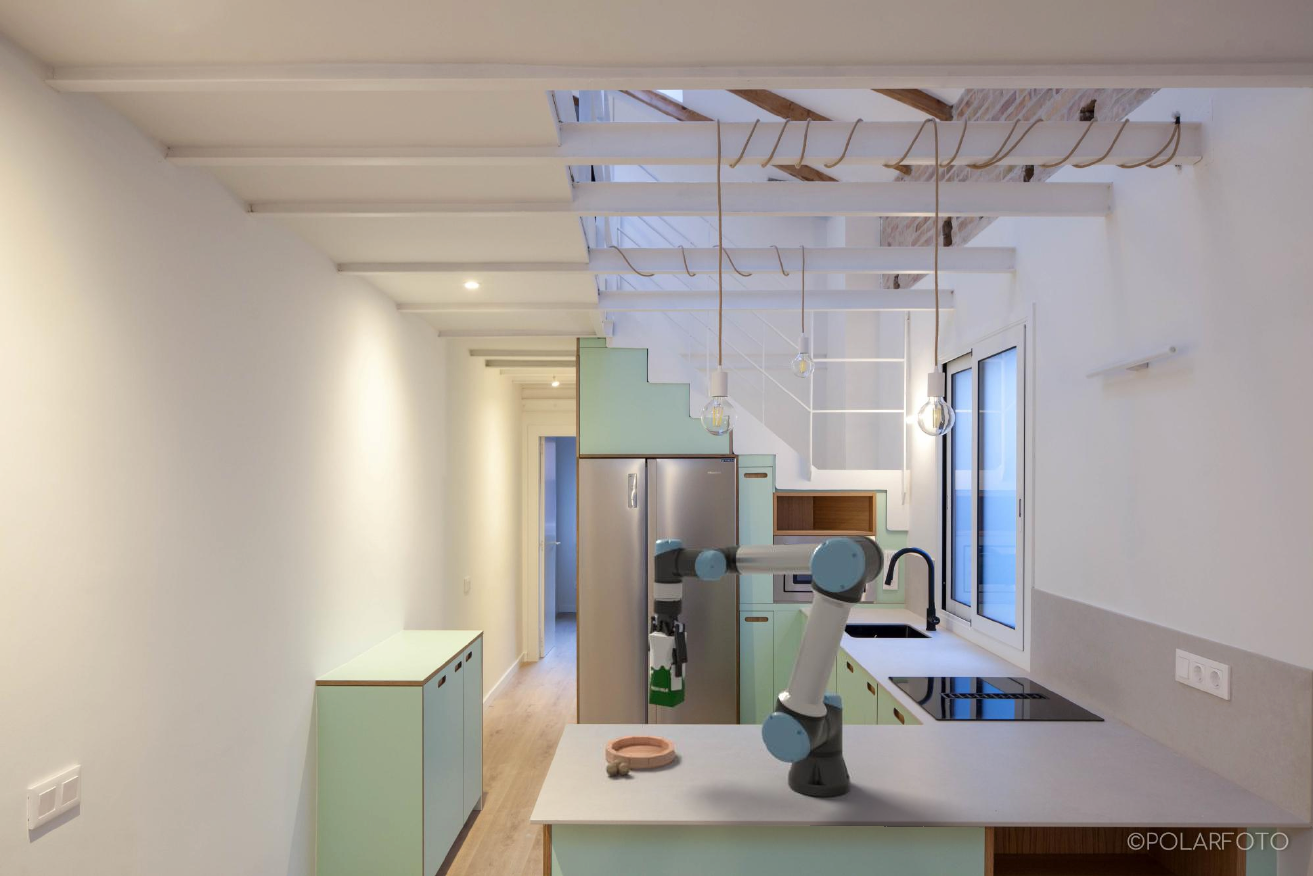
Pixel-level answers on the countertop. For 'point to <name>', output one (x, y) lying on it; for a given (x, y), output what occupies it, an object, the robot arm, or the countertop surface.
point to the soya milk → (663, 671)
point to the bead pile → (617, 768)
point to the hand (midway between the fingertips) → (666, 685)
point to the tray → (641, 751)
